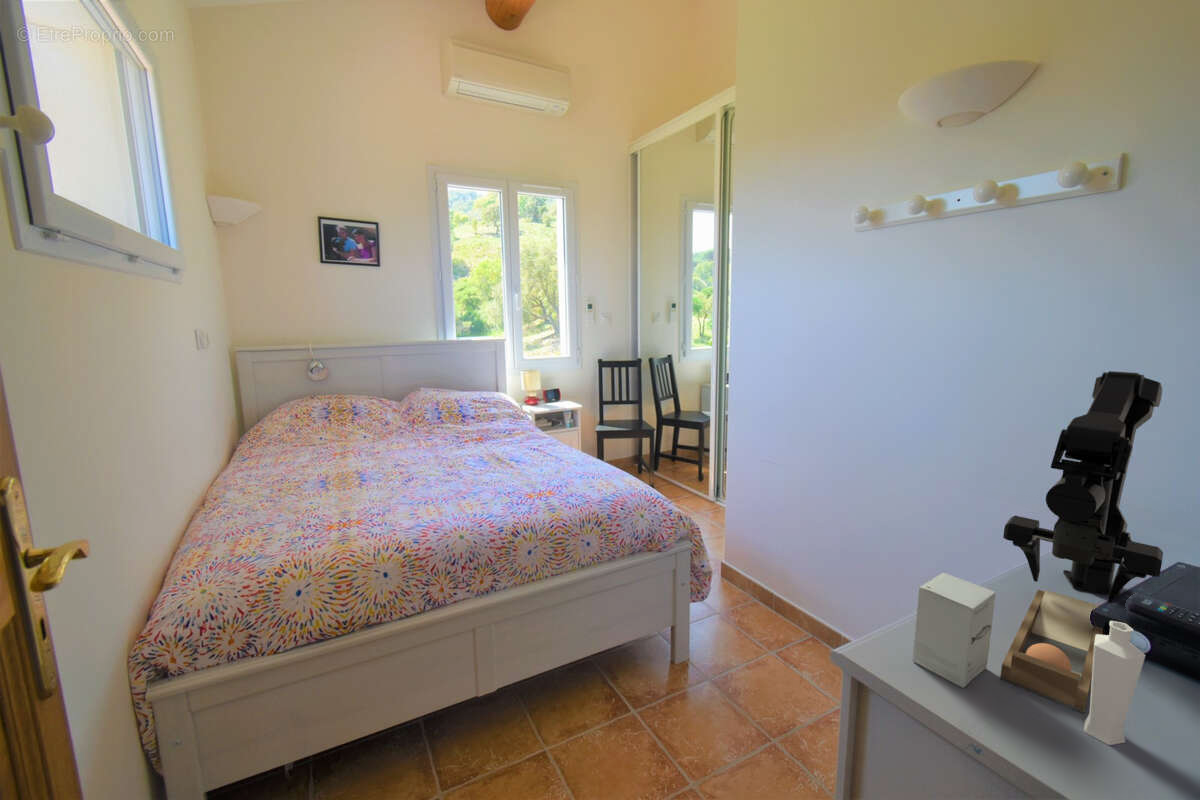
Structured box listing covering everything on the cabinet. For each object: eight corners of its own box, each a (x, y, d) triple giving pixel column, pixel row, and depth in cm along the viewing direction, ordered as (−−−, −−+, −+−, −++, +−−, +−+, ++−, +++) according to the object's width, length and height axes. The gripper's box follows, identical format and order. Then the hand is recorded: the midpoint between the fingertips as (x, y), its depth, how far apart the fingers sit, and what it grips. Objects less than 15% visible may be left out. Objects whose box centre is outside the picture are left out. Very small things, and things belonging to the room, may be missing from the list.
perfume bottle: (1085, 740, 65) (1102, 632, 63) (1073, 715, 69) (1089, 612, 66) (1135, 754, 63) (1155, 643, 60) (1120, 727, 67) (1139, 621, 64)
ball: (1038, 653, 79) (1030, 683, 76) (1023, 632, 78) (1014, 662, 75) (1081, 662, 74) (1074, 695, 72) (1065, 640, 73) (1057, 672, 71)
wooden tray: (1036, 603, 94) (1039, 579, 93) (1105, 624, 87) (1109, 599, 86) (1000, 680, 76) (1003, 652, 75) (1083, 715, 70) (1088, 684, 69)
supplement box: (964, 690, 74) (973, 609, 72) (910, 661, 80) (916, 585, 78) (988, 669, 78) (997, 591, 76) (935, 642, 84) (942, 570, 82)
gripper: (1000, 501, 86) (990, 589, 89) (1167, 536, 72) (1149, 638, 75) (1015, 483, 93) (1006, 564, 96) (1170, 512, 80) (1153, 605, 83)
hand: (1071, 590), depth 88 cm, fingers open, 9 cm apart
